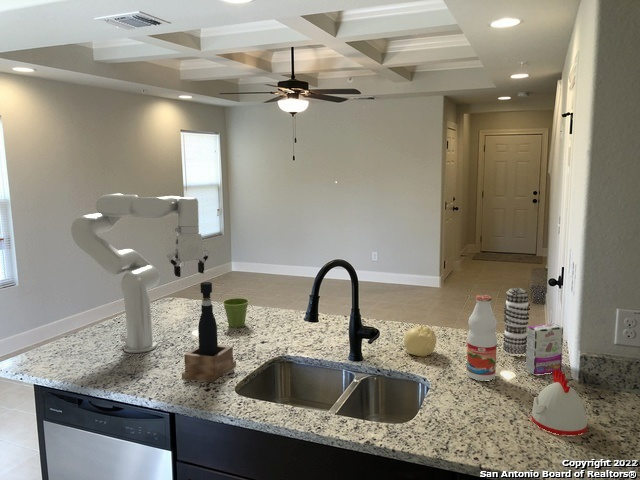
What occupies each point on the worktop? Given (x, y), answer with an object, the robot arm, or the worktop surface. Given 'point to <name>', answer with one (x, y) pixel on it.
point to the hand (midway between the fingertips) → (189, 274)
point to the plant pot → (236, 311)
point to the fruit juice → (482, 341)
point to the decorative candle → (516, 321)
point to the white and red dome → (559, 408)
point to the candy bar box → (544, 348)
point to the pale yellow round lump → (420, 341)
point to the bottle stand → (208, 364)
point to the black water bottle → (207, 324)
